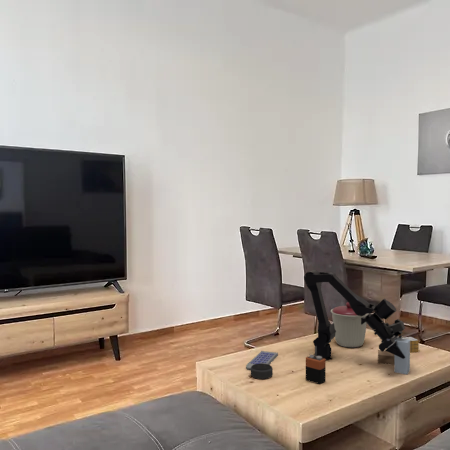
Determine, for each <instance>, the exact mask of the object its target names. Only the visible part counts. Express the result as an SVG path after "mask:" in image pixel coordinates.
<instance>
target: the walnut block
mask: <svg viewBox="0 0 450 450" xmlns="http://www.w3.org/2000/svg"><path fill="white" fill-rule="evenodd" d="M385 350H386V349H385ZM385 350H384V351H383V352H382V351H381V350H380V349H377V364H380V365H390V366H391V365H392V366H394V363H395V355H394V354H392V353H390V352H387V351H385Z"/></svg>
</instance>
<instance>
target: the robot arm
mask: <svg viewBox="0 0 450 450" xmlns="http://www.w3.org/2000/svg"><path fill="white" fill-rule="evenodd" d="M303 280H304V284H305V285H306V287H307V289H308V290H309V291H310V293H311V298H312V301H313V306H314V311H315V315H316V319H317V323H318V324H317V337H316V338H315V339H313V341H312V343H313V346H314V354H313V355H314V356H321V357H322V358H325V360H326V361H327V360H332V347H331V344H330V343H331V342H332V341H333V339H335V333H336V330H335V327H334V323H333V322H332V323H331V322H330V321H329V317H328V313H327V308H326V306H325V301H324V296H323V293H322V292H323V291H322V283H329V284H330V285H331V286H332V287H333V288H334V289H335V291H337V292H338V293H339V294H340V295H341V297H343V299H345V300H346V301H347V302H348V303H349V304H350V307H351V308H352V310H353V311H354V312H355V314H356V315H358V316H364V315H365V314H368V313H369V314H368V315H367V316H366V317H362V318H361V325H362V324H364V323H365V322H366V323H367V325H368V327H369V328H371V330H372V331H373V334H374V336H378V337H379V338H380V343H379V345H378V350H381V351H382V352H383V351H384V350H385V351H387V352H390V353H392V354H394V355H396V356H398V357H400V358H402V359H404V358H405V356H404V354H403V353H402V351H401V350H400V349H399V347H398V346H397V341H396V342H395V340H396V339H397V338H401V339H402V338H403V335H402V334H403V333H404V332H403V331H405V329H406V327H405V323H404V321H403V320H401V319H400V318H397V319H395V320H394V321H393V322H394V323H392V324H389V323H388V322H384V320H387V319H389V318H390V317H391V316H392V315H393V314H395V313H396V312H397V308H396V306H395V305H394V304H393V303H391V302H390V301H389V300H387V299H386V298H382V300H381V301H380V302H379V303H378V304H377V305H376V304H374V303H369V302H368V301H367V300H366V299H365V298H363V297H362V296H360V295H357V294H356V293H355V292H353V290H351V288H350V287H348V285H346V284H345V283H344V281H343V280H341V278H339V276H337V275H336V273H335V272H333V271H332V272H325V271H323V272H322V271H318V270H316V269H313V270H311V271H307V272H306V273H305V274H304V276H303ZM383 319H384V320H383Z"/></svg>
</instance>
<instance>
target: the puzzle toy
mask: <svg viewBox="0 0 450 450" xmlns="http://www.w3.org/2000/svg"><path fill="white" fill-rule="evenodd" d="M402 339H409V340H410V354H413V353H419V351H420V349H419V347H420V346H419V344H420V343H419V341H420V340H419V339H417V338H414V337H412V336H408V337H407V336H405V337H402Z"/></svg>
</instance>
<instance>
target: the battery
mask: <svg viewBox="0 0 450 450" xmlns="http://www.w3.org/2000/svg"><path fill="white" fill-rule="evenodd" d="M326 361H327V360H325V358H322V357H321V356H314V354H309V355H308V356H306V357H305V380H306V381H308V382H312V383H315V384H319V385H320V384H323V383H324V382H326V380H327V379H326V375H327V373H326V372H327V371H326V368H327V367H326V365H327V364H326V363H327V362H326Z"/></svg>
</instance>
